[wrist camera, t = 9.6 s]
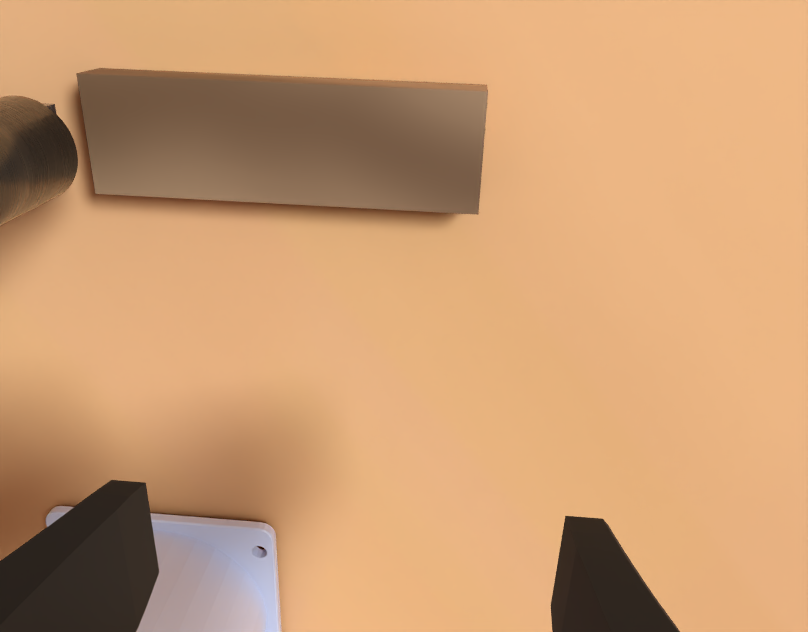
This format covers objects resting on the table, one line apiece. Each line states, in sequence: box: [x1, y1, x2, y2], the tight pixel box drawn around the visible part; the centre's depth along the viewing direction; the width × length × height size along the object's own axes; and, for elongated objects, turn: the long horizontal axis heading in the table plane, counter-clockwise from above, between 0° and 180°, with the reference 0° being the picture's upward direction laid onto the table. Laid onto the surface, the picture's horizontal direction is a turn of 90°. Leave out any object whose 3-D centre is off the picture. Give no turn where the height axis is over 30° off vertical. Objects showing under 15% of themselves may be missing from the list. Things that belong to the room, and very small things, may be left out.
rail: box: [77, 68, 488, 214], centre depth 18 cm, size 3×10×1 cm, turn 88°
